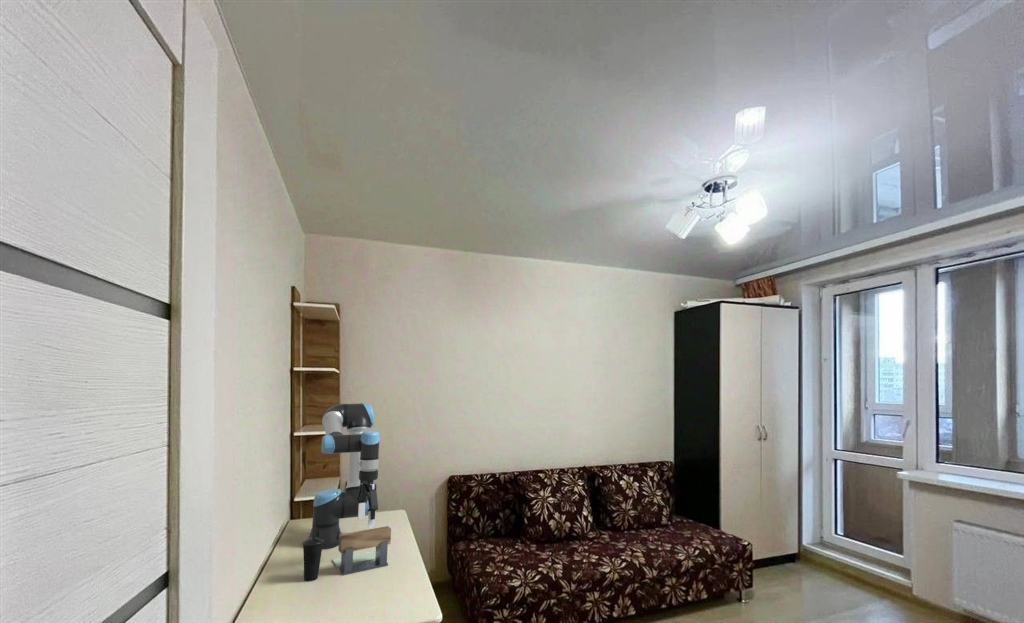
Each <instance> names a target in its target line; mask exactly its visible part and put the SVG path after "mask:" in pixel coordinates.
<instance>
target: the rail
mask: <svg viewBox="0 0 1024 623" xmlns="http://www.w3.org/2000/svg"><path fill="white" fill-rule="evenodd" d="M391 536H392V528H391V527H390V526H388V525H387V526H381V527H374V528H367V529H365V530H357V531H352V532H346V533H341V534H339V545H338V552H339V553H340V554H342V553H345V549H347V548H353V552H355V551H360V550H365V549H370V548H376V547H377V546H380V542H384V541H388V545H391V540H392V537H391Z"/></svg>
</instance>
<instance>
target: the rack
mask: <svg viewBox="0 0 1024 623" xmlns="http://www.w3.org/2000/svg"><path fill="white" fill-rule="evenodd" d="M388 545H389V544H388V541H384V542H380V546H377V547H375V552H376V556H375V560H373V561H369V562H364V563H359V564H354V565H353V555H354V551H353V548H347V549H345V553H340V554H341V555H340V558H341V567H340V568H338V571H339V572H340V573H341V575H342V576H347V575H353V574H356V573H360V572H365V571H369V570H374V569H378V568H383V567H388V566H389V563H388V547H389V546H388Z"/></svg>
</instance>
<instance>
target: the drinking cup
mask: <svg viewBox="0 0 1024 623" xmlns="http://www.w3.org/2000/svg"><path fill="white" fill-rule="evenodd" d="M323 542H324V539H322V538H319V537H315V524H313V537H311V538H309V539H308V538H306V539H305V540H303V541H302V545H303V546H302V548H303V552H302V553H303V580H304V582H313V581H317V580H318V579H319V578H318V577H319V571H320V566H321V559H322V558H321V557H322V551H323V549H322V546H323Z"/></svg>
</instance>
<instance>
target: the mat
mask: <svg viewBox="0 0 1024 623" xmlns="http://www.w3.org/2000/svg"><path fill="white" fill-rule="evenodd" d="M375 556H376V550H372V551H368V552H362V553H357V554H353V565H356V564H361V563H366V562H370V561H375ZM331 561H332V563H333V564H334V565H335V567H336V568H337V569H339V568H341V557H336V558H332V560H331Z"/></svg>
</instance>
